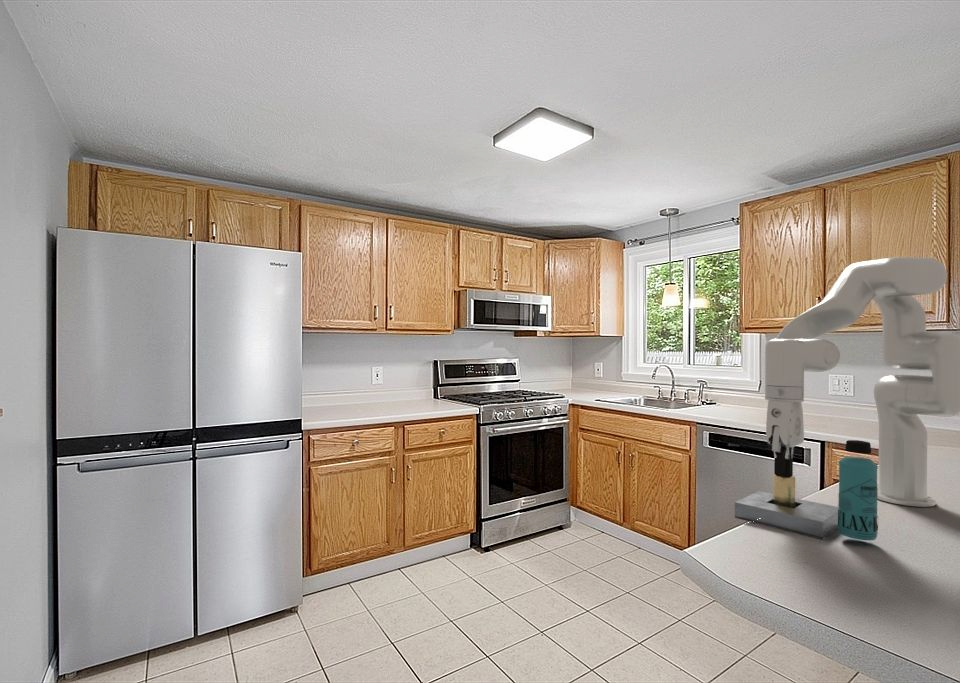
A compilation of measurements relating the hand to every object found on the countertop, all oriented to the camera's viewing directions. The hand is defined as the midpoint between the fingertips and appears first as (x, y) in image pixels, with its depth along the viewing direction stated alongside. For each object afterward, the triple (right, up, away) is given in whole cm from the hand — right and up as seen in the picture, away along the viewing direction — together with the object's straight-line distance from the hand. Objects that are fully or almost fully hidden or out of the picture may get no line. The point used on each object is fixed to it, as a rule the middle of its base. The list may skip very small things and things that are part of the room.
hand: (783, 475), depth 115 cm
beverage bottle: (+6, -10, -14) cm, 18 cm away
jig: (0, -10, -1) cm, 10 cm away
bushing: (0, -9, 0) cm, 9 cm away
